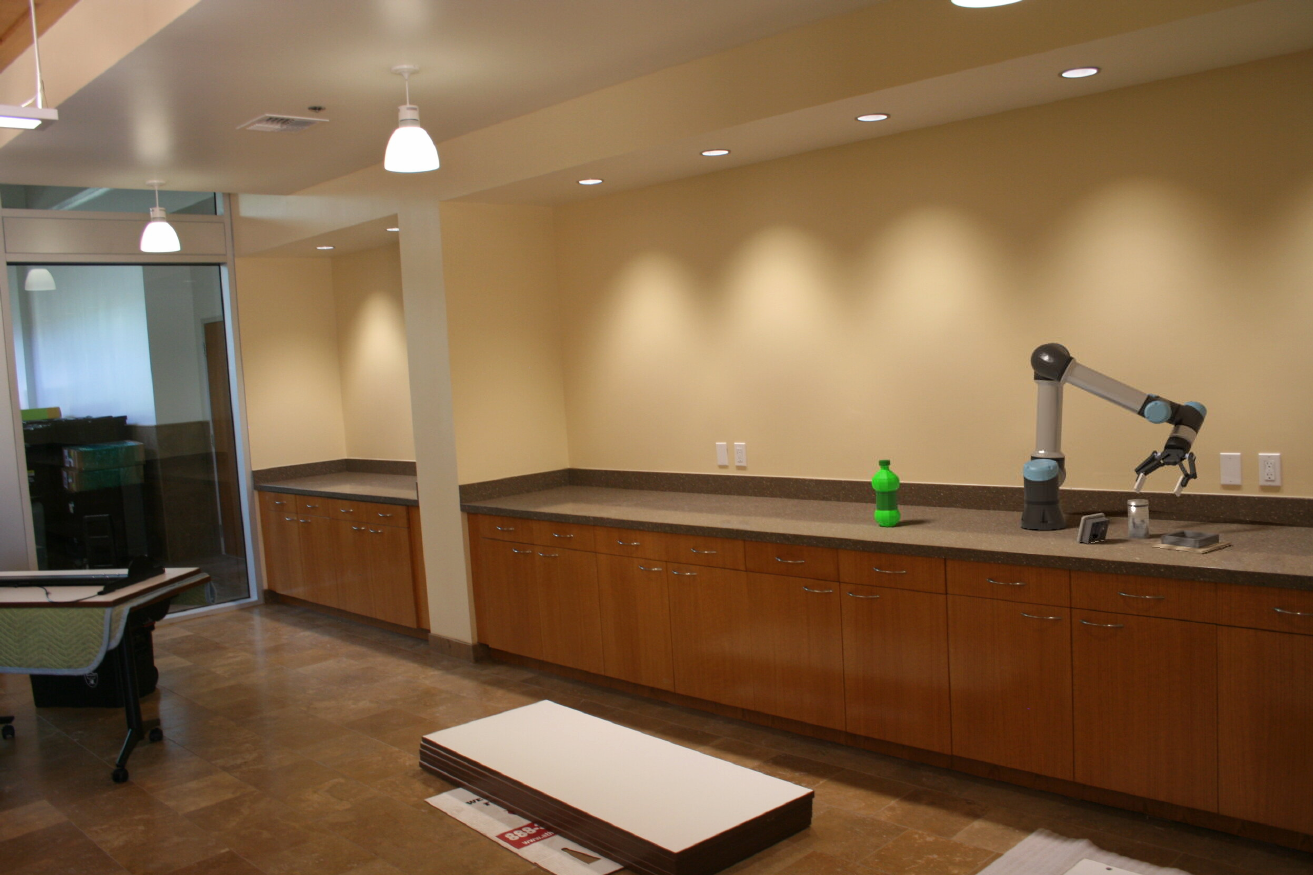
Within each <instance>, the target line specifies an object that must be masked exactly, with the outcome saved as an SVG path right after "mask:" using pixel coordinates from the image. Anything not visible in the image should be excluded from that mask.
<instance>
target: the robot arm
mask: <svg viewBox="0 0 1313 875" xmlns="http://www.w3.org/2000/svg"><path fill="white" fill-rule="evenodd" d="M1030 365H1031V368H1032V370H1033V382H1035V384H1037V397H1036V398H1037V400H1036V403H1037V404H1036V424H1035V425H1036V427H1035V430H1036V431H1035V449H1034V451H1033V452H1032V453H1030V460H1029V461H1026V462H1025V463H1024V464H1023V469H1022V474H1023V490H1024V492H1023V493H1024V494H1023V495H1024V507H1023V509H1022V514H1021V518H1020V521H1019V523H1020V524H1019V525H1020V526H1019V527H1020V528H1021V527H1023V528H1022V529H1024V528H1027V529H1026V530H1029V529H1038V530H1037V531H1053V530H1052V529H1057V530H1062V529H1065V528H1066V527H1067V520H1066V518H1065V514H1064V512H1063V510H1062V507H1061V501H1060V500H1061V498H1060V497H1061V496H1060V487H1062V486H1063V484H1064V483H1065V480H1066V479H1067V471H1066V467H1065V464H1066V462H1065V461H1066V455H1065V453H1063V452H1062V428H1063V426H1062V425H1063V404H1064V402H1063V401H1064V386H1065V385H1066V384H1070V385H1071V386H1074V387H1076V388H1077V389H1081V390H1083V391H1085V392H1087V393H1090V394H1092V395H1094V396H1095V397H1097V398H1100V399H1102V400H1105V401H1106V402H1109V403H1111V404H1113V405H1116V406H1117V407H1120V408H1122V409H1125V410H1126V411H1129V412H1131V413H1133V414H1135V415H1138V416H1140V417H1141V418H1144V419H1146V420H1147V421H1148V422H1149V423H1151V424H1156V425H1160V424H1164V423H1167V424H1169V425H1171V426H1173V428H1172V430H1171V432H1170V433H1169V435H1168V438H1167V440H1166V442H1165V443H1164V447H1163V450H1162V451H1161V452H1158V451H1157V450H1152V452H1151V454H1149V456H1148V457H1147V458H1146V459H1144V460H1143V461H1142V462H1141V463H1140V464H1139V465H1138V466H1137V467H1136V468H1134V472H1135V473H1136V475H1137V476H1136V478H1135V484H1134V487H1133V489H1134V491H1135V493H1136V494H1140V493H1141V490H1142V488H1143V486H1144V484H1145V482H1146V481H1147V476H1149V475H1150V474H1152V473H1153V472H1155V471H1156V470H1158V469H1159V468H1163V467H1165V466H1172V467H1175V466H1178V467H1179V469H1180V470H1181V472H1182V474H1183V475H1180V477H1179V479H1178V481H1177V483H1176V485H1175V487H1174V490H1173V494H1175V496H1176V497H1180V496H1181V494H1182V492H1183V490H1184V488H1186V487H1187V486H1188V485H1189V481H1191V480H1192V479H1193V480H1197V479H1198V474H1197V468H1196V459H1197V457H1196V455H1195V454H1194V452H1193V451H1191V449H1192V446H1193V444H1194V443H1195V440H1196V438H1197V435H1198V433H1199V432H1200V430H1201V428H1202V425H1203V424H1204V421H1205V419H1206V416H1207V414H1208V410H1207V407H1206V406H1205V405H1203V404H1202V403H1200V402H1198V401H1193V400H1190V401H1186V402H1185V403H1184V404H1182V403H1177V402H1175V401H1173V400H1170V399H1168V398H1165V397H1162V396H1160V395H1156V394H1152V393H1146V392H1144V391H1142V390H1140V389H1137V388H1135V387H1132V386H1130V385H1127V384H1126V383H1123V382H1121V381H1119V380H1117V379H1116V378H1115V379H1114V378H1113V377H1111V376H1108V375H1106V374H1104V373H1101V372H1099V371H1097V370H1094V369H1092V368H1091V367H1088V366H1085V365H1084V364H1082V363H1079V362H1077V359H1076V358H1075V357H1073V356H1071V353H1070V352H1069V350H1068V349H1067V347H1066V346H1064V345H1062V344H1061V343H1058V342H1048V343H1044V344H1041V345H1039V346H1038V347H1036V348H1035V349H1034V350H1033V352H1032V353H1031V356H1030ZM1185 460H1187V461H1188V468H1189V473H1188V470H1187V468H1186V467H1185V465H1184V463H1183V462H1184V461H1185ZM1061 528H1062V529H1061Z"/></svg>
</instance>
